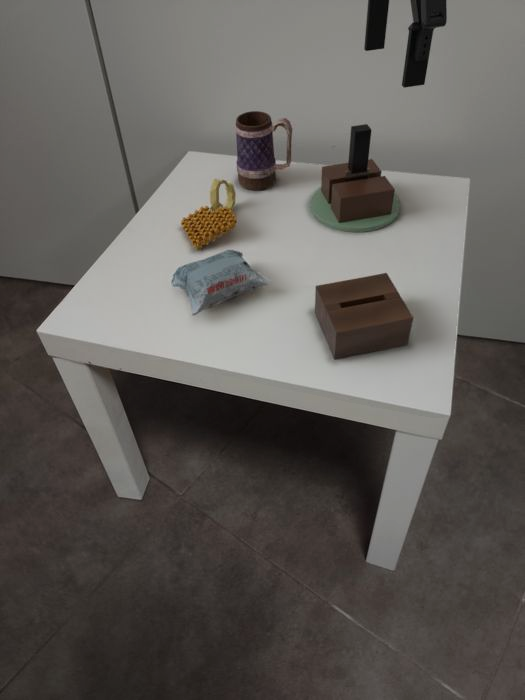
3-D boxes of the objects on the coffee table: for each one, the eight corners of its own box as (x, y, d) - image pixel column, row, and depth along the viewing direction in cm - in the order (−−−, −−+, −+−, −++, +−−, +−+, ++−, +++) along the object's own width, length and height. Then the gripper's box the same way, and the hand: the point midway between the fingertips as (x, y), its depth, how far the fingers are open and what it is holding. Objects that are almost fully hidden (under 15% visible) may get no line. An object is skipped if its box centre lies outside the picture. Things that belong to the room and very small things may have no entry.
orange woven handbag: (215, 232, 81) (250, 164, 88) (159, 231, 86) (196, 166, 92) (231, 263, 86) (263, 196, 93) (178, 260, 91) (212, 197, 97)
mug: (232, 188, 98) (226, 123, 90) (245, 168, 103) (241, 105, 94) (286, 196, 96) (285, 130, 87) (297, 176, 100) (297, 111, 92)
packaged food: (269, 295, 79) (267, 268, 75) (194, 325, 75) (189, 298, 71) (242, 263, 84) (239, 237, 80) (171, 290, 80) (165, 263, 77)
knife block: (407, 345, 71) (413, 317, 67) (334, 359, 70) (336, 332, 66) (382, 300, 77) (386, 272, 73) (314, 312, 76) (315, 285, 72)
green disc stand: (413, 223, 89) (419, 194, 85) (325, 238, 87) (326, 209, 83) (380, 177, 99) (383, 149, 95) (300, 190, 97) (300, 162, 93)
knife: (367, 203, 92) (376, 128, 82) (344, 207, 91) (350, 132, 82) (363, 197, 93) (371, 123, 84) (341, 200, 93) (346, 126, 83)
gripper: (345, -155, 65) (336, 39, 81) (436, -133, 48) (402, 107, 64) (404, -161, 66) (384, 33, 81) (513, -140, 49) (461, 98, 65)
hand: (392, 66), depth 73 cm, fingers open, 13 cm apart
